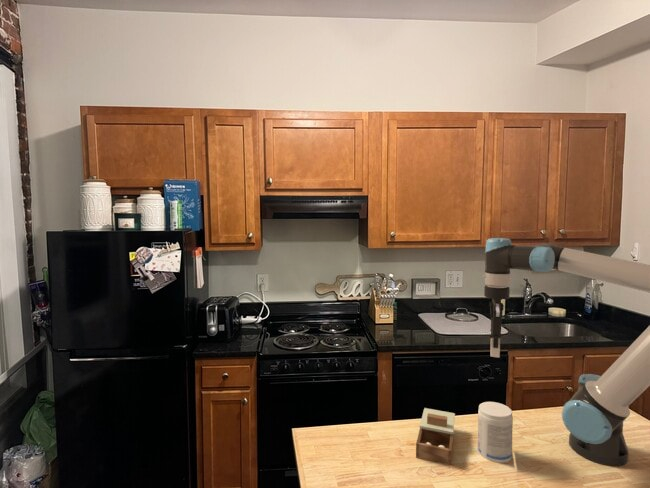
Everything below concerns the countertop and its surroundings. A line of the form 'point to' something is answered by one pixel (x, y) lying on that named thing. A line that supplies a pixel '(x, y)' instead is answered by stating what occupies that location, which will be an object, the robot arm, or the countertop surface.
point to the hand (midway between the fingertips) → (494, 356)
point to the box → (434, 446)
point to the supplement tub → (495, 432)
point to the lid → (437, 421)
